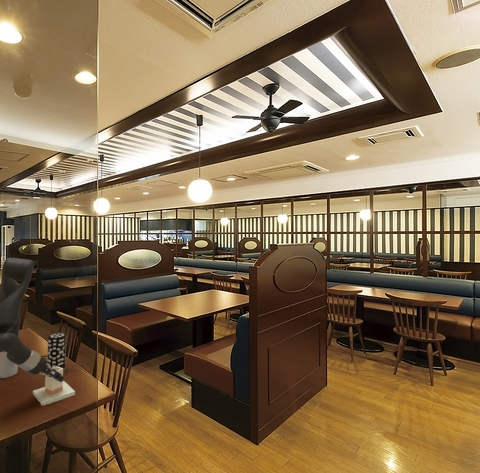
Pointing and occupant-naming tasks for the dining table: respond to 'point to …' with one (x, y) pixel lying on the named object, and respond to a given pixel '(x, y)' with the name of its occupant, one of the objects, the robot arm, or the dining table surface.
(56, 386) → the sleeve
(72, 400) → the dining table surface
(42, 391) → the pin board
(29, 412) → the dining table surface
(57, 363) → the spotted tube
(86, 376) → the dining table surface
